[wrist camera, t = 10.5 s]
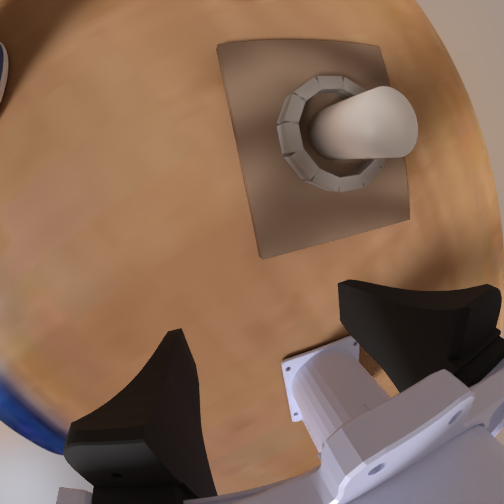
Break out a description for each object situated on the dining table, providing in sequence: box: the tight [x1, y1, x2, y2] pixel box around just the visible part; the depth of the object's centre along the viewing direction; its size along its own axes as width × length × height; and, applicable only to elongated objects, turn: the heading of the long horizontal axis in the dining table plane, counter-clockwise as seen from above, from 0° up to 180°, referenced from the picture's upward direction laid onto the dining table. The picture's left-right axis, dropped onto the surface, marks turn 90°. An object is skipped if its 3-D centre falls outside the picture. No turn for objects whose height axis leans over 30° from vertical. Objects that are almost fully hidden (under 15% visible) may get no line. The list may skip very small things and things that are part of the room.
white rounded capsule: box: [308, 86, 418, 160], centre depth 16 cm, size 4×4×7 cm
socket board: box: [216, 39, 410, 260], centre depth 19 cm, size 16×14×2 cm
